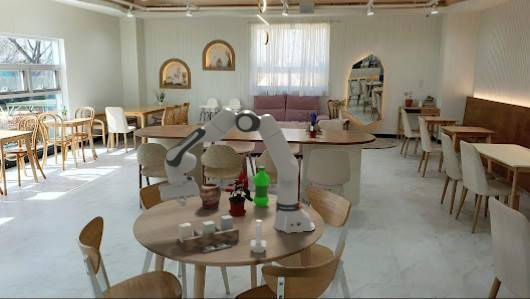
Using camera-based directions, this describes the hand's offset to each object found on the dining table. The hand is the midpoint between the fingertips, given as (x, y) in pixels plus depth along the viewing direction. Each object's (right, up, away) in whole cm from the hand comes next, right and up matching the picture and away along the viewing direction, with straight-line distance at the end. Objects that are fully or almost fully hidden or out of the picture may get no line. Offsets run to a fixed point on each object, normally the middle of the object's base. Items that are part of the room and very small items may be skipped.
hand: (183, 205), depth 205 cm
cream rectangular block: (+3, -15, -11) cm, 19 cm away
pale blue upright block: (+22, -14, 0) cm, 26 cm away
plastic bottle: (+39, -7, +46) cm, 61 cm away
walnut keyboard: (+15, -17, -10) cm, 25 cm away
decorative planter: (+9, -7, +44) cm, 45 cm away
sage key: (+14, -15, -8) cm, 22 cm away
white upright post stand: (+39, -19, -17) cm, 46 cm away
